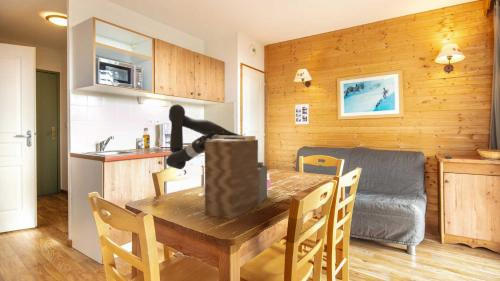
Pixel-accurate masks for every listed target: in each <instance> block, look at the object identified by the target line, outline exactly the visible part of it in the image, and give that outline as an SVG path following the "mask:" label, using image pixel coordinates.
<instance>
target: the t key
mask: <svg viewBox="0 0 500 281" xmlns="http://www.w3.org/2000/svg"><path fill="white" fill-rule="evenodd" d="M225 137H226V138H243V140H245V141H252V140H256V135H243V136H218V135H214V136H213V137H212V140H214V139H224V138H225Z"/></svg>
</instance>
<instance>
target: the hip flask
mask: <svg viewBox="0 0 500 281" xmlns="http://www.w3.org/2000/svg"><path fill="white" fill-rule="evenodd" d="M266 198H268V165H267V164H264V162H263V161H258V205H261V204H262V202H263V201H264V200H265V199H266Z"/></svg>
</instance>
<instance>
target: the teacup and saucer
mask: <svg viewBox="0 0 500 281" xmlns="http://www.w3.org/2000/svg"><path fill="white" fill-rule="evenodd" d="M202 195H203V196H205V187H202V193H199V194H198V196H199V197H202Z"/></svg>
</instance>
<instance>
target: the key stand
mask: <svg viewBox="0 0 500 281" xmlns="http://www.w3.org/2000/svg"><path fill="white" fill-rule="evenodd" d="M258 162H259V139H255V140H252V141H245V140H243V138H226V137H225V138H224V139H214V140H207V141H205V151H204V188H205V195H204V206H205V207H204V214H205V215H206V216H207V215H208V216H211V217H212V216H213V217H218V218H223V219H229V220H234V219H236V218H238V217H239V216H242V215H243V214H244V213H246V212H248V211H249V210H252V209H253V208H254V207H256V206H258V205H259V204H258Z"/></svg>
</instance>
